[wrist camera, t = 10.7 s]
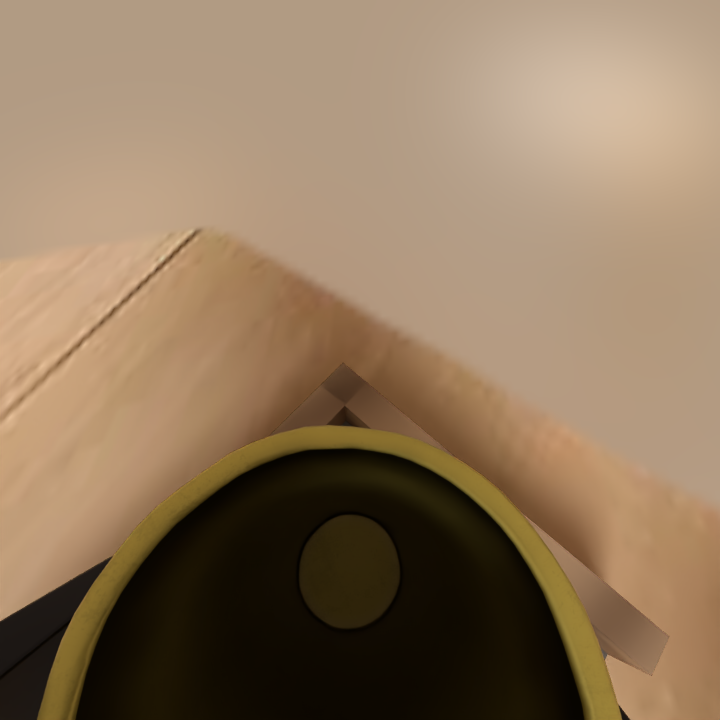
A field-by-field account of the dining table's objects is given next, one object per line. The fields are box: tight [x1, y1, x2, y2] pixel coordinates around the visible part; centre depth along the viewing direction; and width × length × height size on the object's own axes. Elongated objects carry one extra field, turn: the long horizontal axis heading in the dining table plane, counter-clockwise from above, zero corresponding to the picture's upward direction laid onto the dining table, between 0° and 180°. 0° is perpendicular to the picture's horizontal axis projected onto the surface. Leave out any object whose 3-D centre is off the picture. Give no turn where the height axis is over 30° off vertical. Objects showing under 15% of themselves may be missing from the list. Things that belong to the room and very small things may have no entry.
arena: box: [269, 363, 669, 676], centre depth 14 cm, size 16×20×4 cm
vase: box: [37, 425, 622, 720], centre depth 10 cm, size 6×6×14 cm
